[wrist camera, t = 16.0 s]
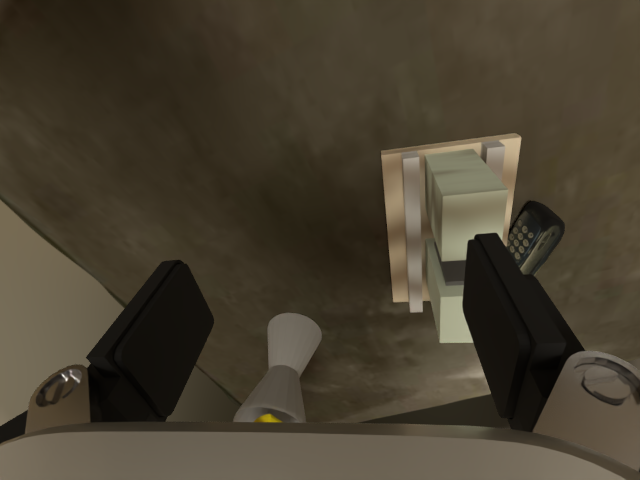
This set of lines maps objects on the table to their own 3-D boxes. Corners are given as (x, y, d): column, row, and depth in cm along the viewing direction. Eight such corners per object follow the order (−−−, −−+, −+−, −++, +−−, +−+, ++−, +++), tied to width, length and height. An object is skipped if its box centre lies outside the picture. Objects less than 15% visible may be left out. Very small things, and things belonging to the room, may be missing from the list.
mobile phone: (547, 218, 31) (477, 327, 39) (577, 224, 31) (501, 332, 39) (523, 196, 36) (464, 299, 43) (550, 202, 36) (486, 303, 43)
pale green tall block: (425, 279, 41) (439, 342, 33) (425, 235, 38) (440, 292, 29) (464, 277, 40) (488, 342, 32) (467, 231, 37) (495, 290, 29)
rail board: (495, 290, 42) (532, 365, 33) (392, 294, 45) (398, 366, 35) (515, 133, 32) (576, 176, 23) (380, 150, 35) (384, 196, 25)
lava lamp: (335, 337, 51) (285, 750, 22) (295, 359, 55) (210, 732, 26) (292, 302, 48) (171, 721, 19) (255, 328, 52) (106, 706, 23)
